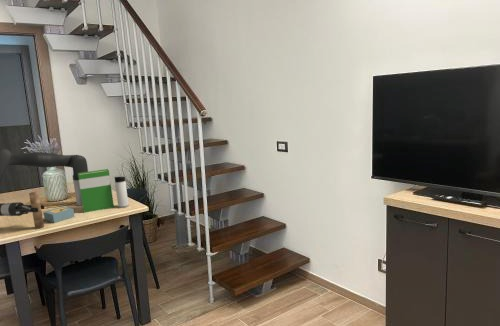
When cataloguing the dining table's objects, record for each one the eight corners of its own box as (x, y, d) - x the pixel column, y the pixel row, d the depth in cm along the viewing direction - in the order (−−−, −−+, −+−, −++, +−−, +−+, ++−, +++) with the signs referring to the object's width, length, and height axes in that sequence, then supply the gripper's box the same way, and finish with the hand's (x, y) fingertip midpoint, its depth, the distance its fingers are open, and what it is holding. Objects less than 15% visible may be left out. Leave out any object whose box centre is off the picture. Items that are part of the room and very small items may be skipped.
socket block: (64, 214, 230) (63, 206, 229) (74, 216, 223) (73, 208, 222) (44, 219, 221) (43, 211, 220) (54, 223, 213) (52, 214, 213)
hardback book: (84, 212, 230) (78, 175, 226) (83, 209, 237) (77, 173, 232) (113, 207, 238) (108, 170, 233) (112, 204, 244) (107, 168, 240)
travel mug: (115, 208, 236) (111, 177, 232) (122, 204, 242) (118, 174, 238) (123, 208, 234) (119, 177, 230) (130, 205, 240) (126, 175, 236)
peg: (41, 225, 210) (36, 191, 207) (45, 226, 208) (39, 192, 204) (33, 228, 207) (27, 193, 203) (37, 229, 204) (31, 194, 201)
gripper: (1, 206, 200) (30, 205, 197) (20, 199, 214) (48, 198, 211) (4, 220, 201) (33, 219, 199) (23, 211, 215) (50, 210, 213)
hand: (40, 208), depth 205 cm, fingers closed on peg, 4 cm apart
